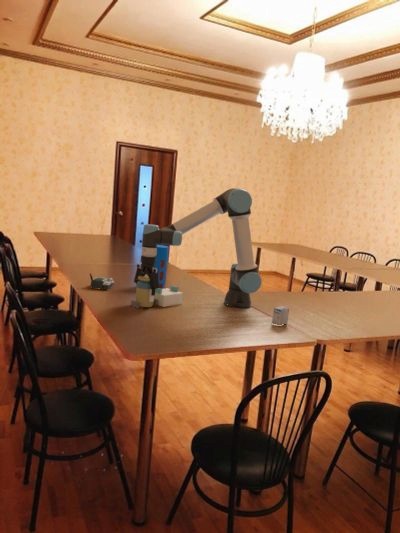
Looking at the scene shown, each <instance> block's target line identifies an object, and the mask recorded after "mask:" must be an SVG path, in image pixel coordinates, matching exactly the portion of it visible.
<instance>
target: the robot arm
mask: <svg viewBox="0 0 400 533" xmlns="http://www.w3.org/2000/svg"><path fill="white" fill-rule="evenodd" d="M252 204H253V199H252V196H251V194H250V192H249V191H248V190H245V189H243V188H238V187H236V188H229V189H227V190H225V191H224V192H222V193H220V194H219V195H217V196H215V197H214V198H213V201H211V202H210V203H207V204H205V205H203V206H202V207H200V208H199V209H197V210H195V211H193V212H191V213H189V214H187V215H186V216H184V217H183V218H180V219H179V220H177V221H175V222H173V223H172V224H170V225H168V226H164V227H162V228H159V225H157V224H152V223H150V224H149V223H147V224H144V225H143V229H142V241H141V252H140V253H141V256H140V263H139V264H138V263H137V264H136V271H135V276H134V279H133V283H135V284H136V285H137V282H138V281H140V280H139V279H138V276H145V275H146V276H148V277H149V279H150V286H151V288H150V293H149V302H153V301H154V295H155V290H156V289H157V288H159V281H158V271H159V269H156V268H154V264H155V263H156V253H157V245H163V246H173V247H175V246H176V247H179V246H181V245H182V243H183V242H182V241H183V235H184V234H186V233H188V232H190V231H191V230H193V229H196V228H197V227H199V226H201V225H202V224H204V223H206V222H208V221H209V220H211V219H213V218H215V217H217V216H219V215H224V214H226V213H227V216H228V218H229V219H231V224H232V229H233V230H232V231H233V239H234V247H235V254H236V262H237V263H231V266H230V274H229V282H228V283H229V284H228V291H227V293H226V295H225V297H224V301H223V304H225V305H226V304H228V305H227V306H229V305H231V306H230V307H232V306H236V307H235V308H239V307H247V308H251V307H252V300H251V294H254V293H256V292H258V290H260V288H261V286H262V284H263V282H262V281H263V280H262V276H261V275H260V274H259V268H258V264H256V263H255V258H254V253H253V244H252V243H253V242H252V236H251V228H250V219H249V217H250V216H251V215H252V210H251V207H252ZM153 286H154V287H153ZM136 288H137V286H136ZM136 288H135V289H136ZM250 306H251V307H250Z"/></svg>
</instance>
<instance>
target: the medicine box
mask: <svg viewBox="0 0 400 533" xmlns="http://www.w3.org/2000/svg"><path fill="white" fill-rule="evenodd" d="M289 313H290V308H289V307H287V306H283V305H281V306H278V307H274V308H273V312H272V318H271V319H272V320H271V324H272V323H273V324H277V325H282V324H287V325H288V320H289Z"/></svg>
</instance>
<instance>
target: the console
mask: <svg viewBox="0 0 400 533" xmlns="http://www.w3.org/2000/svg"><path fill="white" fill-rule="evenodd" d="M183 300H184V292H181V291H179V286H176V285H174V284H173V285H171V284H170V288H168V287H166V288H157V289H156V290H155V295H154V301H153V305H152V306H155V305H157V306H159V307H162V308H164V307H166V308H167V307H172V306H179V305H183ZM130 303H131V304H130V307H132V306H133V307H132V308H134V307H136V308H135V309H137V308H138V309H140V307H139V305H140V302H137V301H136V300H134V299H132V300H130Z"/></svg>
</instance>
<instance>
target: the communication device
mask: <svg viewBox="0 0 400 533" xmlns="http://www.w3.org/2000/svg"><path fill="white" fill-rule="evenodd" d="M89 276H90V287H92V288H91V289H93V288H100V289H99V290H103V289H109V290H110V288H111V287H112V288H113V286H114V283H115V281H114V278H112V277H105V276H102V277H101V276H98V277H95V278H93V276H92V273H89ZM102 288H103V289H102ZM112 288H111V289H112Z"/></svg>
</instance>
